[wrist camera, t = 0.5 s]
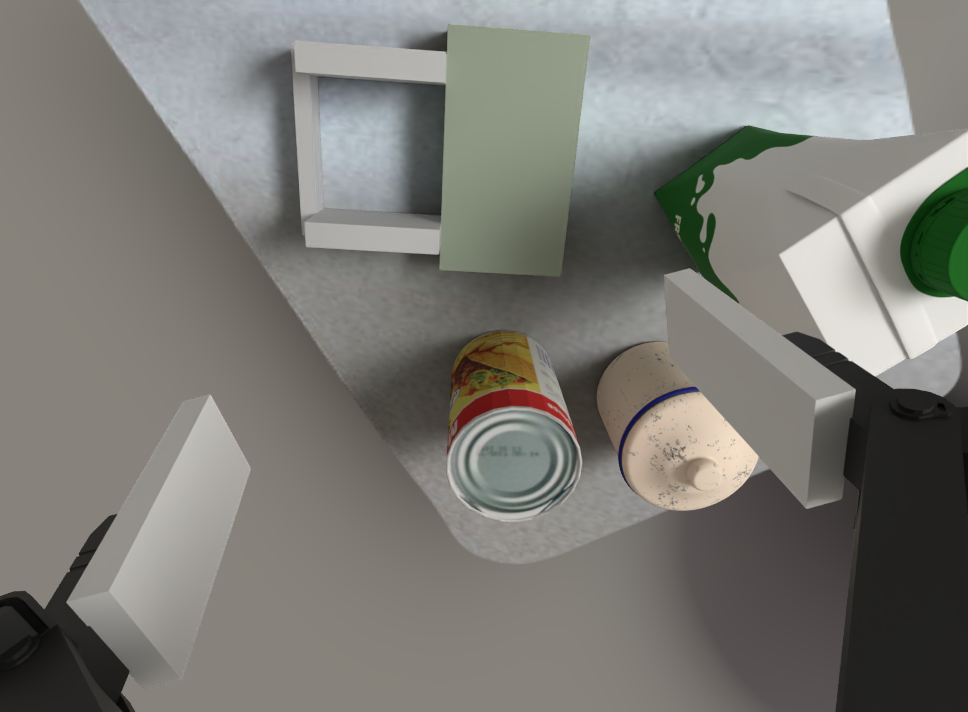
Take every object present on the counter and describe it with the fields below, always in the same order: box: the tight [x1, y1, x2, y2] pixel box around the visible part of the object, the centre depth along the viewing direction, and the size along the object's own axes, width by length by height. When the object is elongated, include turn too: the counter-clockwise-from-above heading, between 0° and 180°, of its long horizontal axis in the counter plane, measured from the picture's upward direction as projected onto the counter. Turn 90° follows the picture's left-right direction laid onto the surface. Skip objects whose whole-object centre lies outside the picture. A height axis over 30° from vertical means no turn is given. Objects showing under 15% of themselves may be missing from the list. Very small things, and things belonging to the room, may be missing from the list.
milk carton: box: [654, 125, 968, 376], centre depth 30 cm, size 9×9×20 cm
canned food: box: [446, 330, 582, 522], centre depth 39 cm, size 8×8×12 cm
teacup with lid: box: [597, 342, 758, 510], centre depth 39 cm, size 12×9×12 cm
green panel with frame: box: [291, 24, 590, 277], centre depth 35 cm, size 14×17×5 cm
